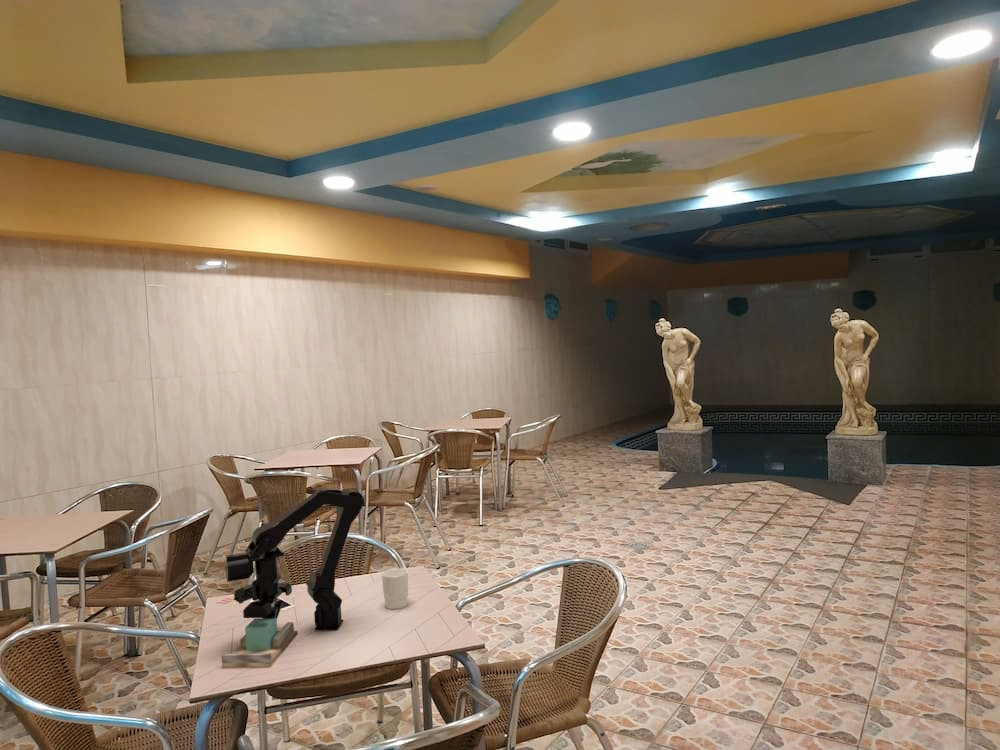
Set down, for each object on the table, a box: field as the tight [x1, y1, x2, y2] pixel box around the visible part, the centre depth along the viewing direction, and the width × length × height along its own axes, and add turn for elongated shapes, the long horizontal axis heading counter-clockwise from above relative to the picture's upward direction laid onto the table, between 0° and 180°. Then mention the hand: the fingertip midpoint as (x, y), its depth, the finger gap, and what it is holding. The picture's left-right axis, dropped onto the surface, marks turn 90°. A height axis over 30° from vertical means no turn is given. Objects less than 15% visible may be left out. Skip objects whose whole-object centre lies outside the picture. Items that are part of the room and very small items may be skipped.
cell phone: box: [248, 596, 296, 612], centre depth 217 cm, size 8×16×1 cm, turn 44°
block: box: [244, 617, 278, 650], centre depth 184 cm, size 6×6×6 cm
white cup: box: [381, 567, 409, 610], centre depth 211 cm, size 8×8×10 cm
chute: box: [221, 621, 299, 668], centre depth 183 cm, size 12×19×3 cm, turn 176°
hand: (270, 630), depth 189 cm, fingers closed
